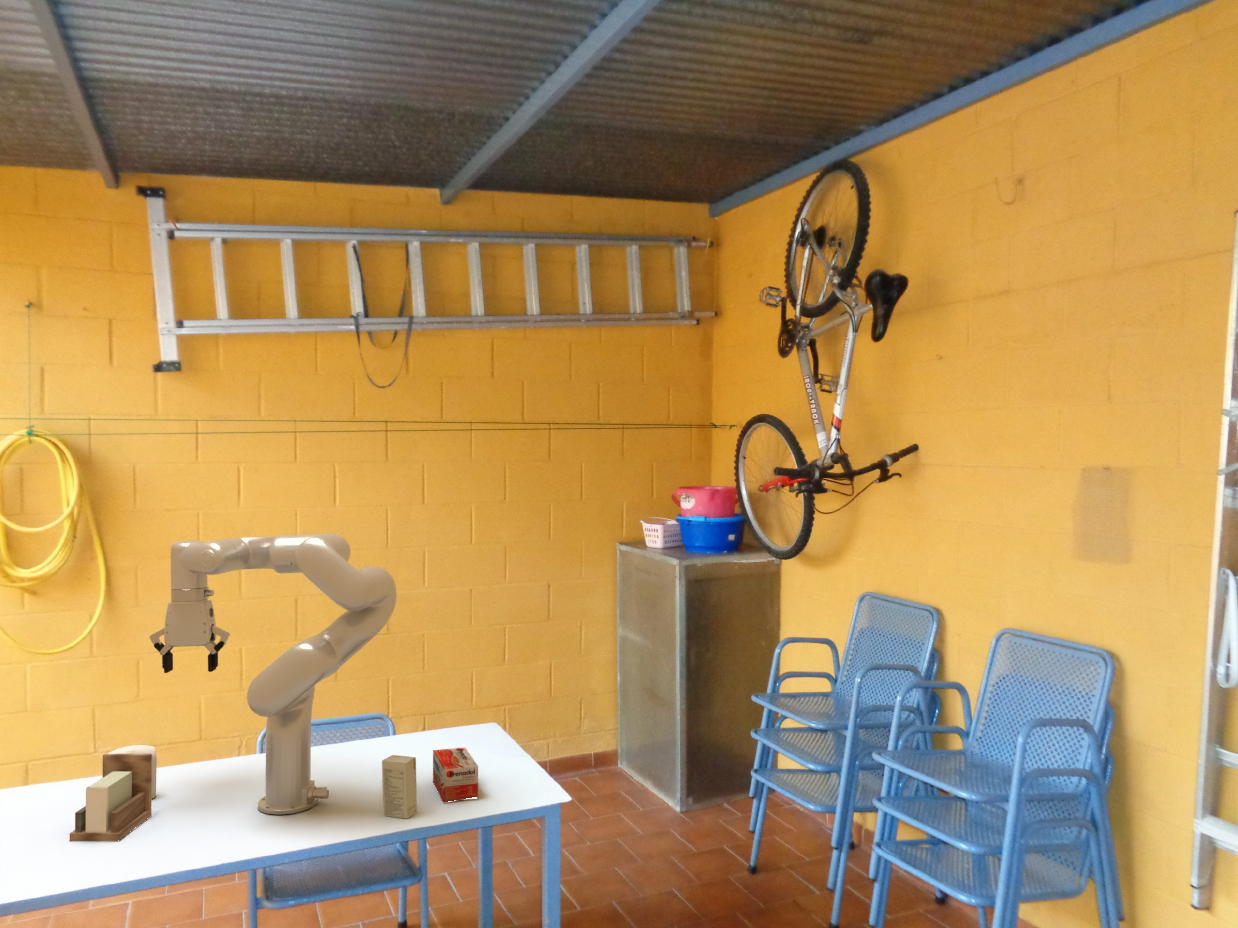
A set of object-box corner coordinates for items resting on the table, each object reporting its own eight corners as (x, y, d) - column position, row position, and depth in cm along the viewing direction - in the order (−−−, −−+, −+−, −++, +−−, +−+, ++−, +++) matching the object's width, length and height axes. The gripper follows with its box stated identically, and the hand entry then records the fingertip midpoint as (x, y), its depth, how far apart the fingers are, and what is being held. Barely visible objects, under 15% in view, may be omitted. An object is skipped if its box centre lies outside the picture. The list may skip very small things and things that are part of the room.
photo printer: (155, 793, 213) (155, 739, 213) (157, 799, 210) (157, 744, 210) (104, 802, 208) (104, 747, 208) (105, 808, 204) (106, 752, 204)
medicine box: (478, 800, 211) (479, 765, 211) (443, 804, 208) (443, 769, 208) (464, 778, 225) (465, 745, 225) (431, 782, 222) (431, 749, 222)
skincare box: (417, 812, 203) (417, 756, 203) (406, 819, 199) (407, 762, 199) (392, 808, 205) (392, 753, 205) (381, 815, 201) (381, 759, 201)
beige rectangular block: (131, 813, 197) (132, 771, 197) (105, 832, 187) (106, 788, 187) (112, 813, 197) (112, 771, 197) (85, 832, 187) (85, 787, 187)
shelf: (151, 816, 200) (151, 753, 200) (119, 840, 187) (119, 774, 187) (104, 815, 200) (105, 753, 200) (69, 840, 187) (70, 773, 187)
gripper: (234, 592, 214) (235, 666, 214) (157, 594, 213) (158, 668, 213) (222, 597, 206) (223, 673, 206) (142, 598, 205) (143, 675, 205)
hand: (190, 670), depth 209 cm, fingers open, 9 cm apart
